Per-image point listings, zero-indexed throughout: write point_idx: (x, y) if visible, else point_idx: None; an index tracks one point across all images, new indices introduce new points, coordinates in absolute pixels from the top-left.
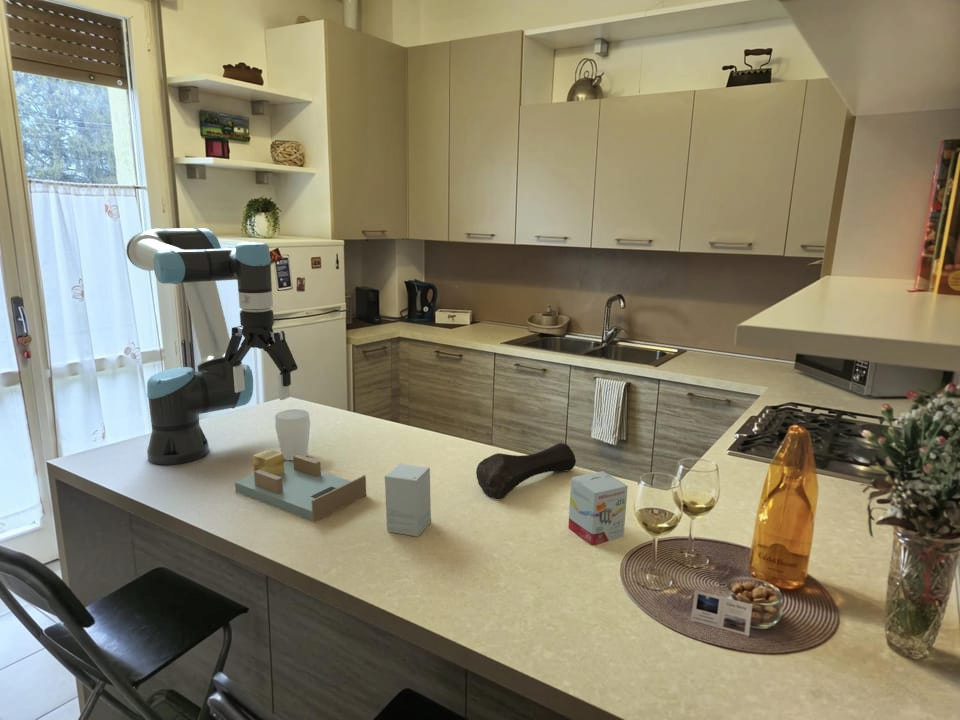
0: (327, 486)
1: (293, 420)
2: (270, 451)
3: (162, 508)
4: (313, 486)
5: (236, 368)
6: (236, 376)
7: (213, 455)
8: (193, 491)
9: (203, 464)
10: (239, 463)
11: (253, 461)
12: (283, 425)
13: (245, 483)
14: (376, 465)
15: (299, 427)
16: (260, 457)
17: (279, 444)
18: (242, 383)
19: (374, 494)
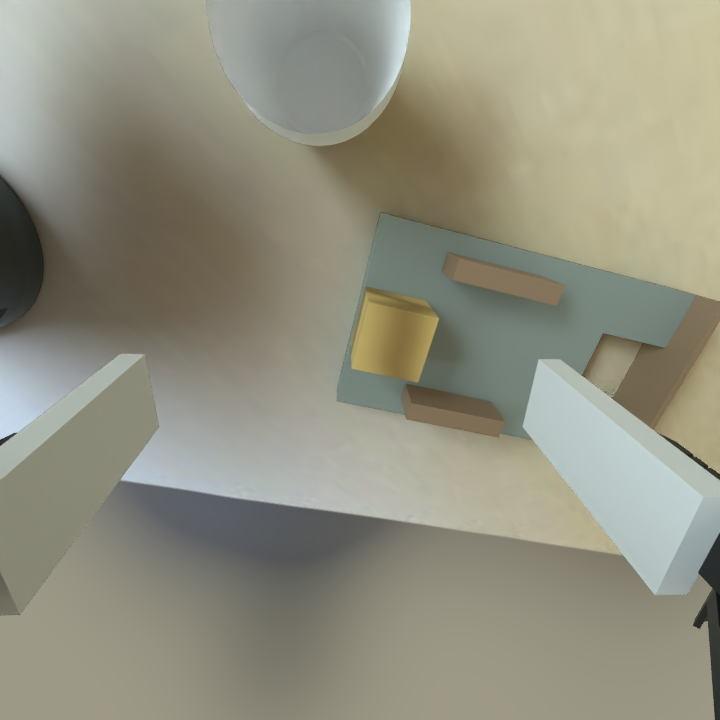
0: (593, 337)
1: (372, 110)
2: (385, 319)
3: (251, 496)
4: (554, 350)
5: (31, 583)
6: (91, 515)
7: (50, 199)
8: (239, 420)
9: (98, 277)
10: (193, 227)
11: (351, 359)
12: (323, 140)
13: (368, 397)
14: (661, 53)
15: (390, 97)
16: (387, 373)
17: (282, 126)
18: (120, 401)
19: (699, 276)
